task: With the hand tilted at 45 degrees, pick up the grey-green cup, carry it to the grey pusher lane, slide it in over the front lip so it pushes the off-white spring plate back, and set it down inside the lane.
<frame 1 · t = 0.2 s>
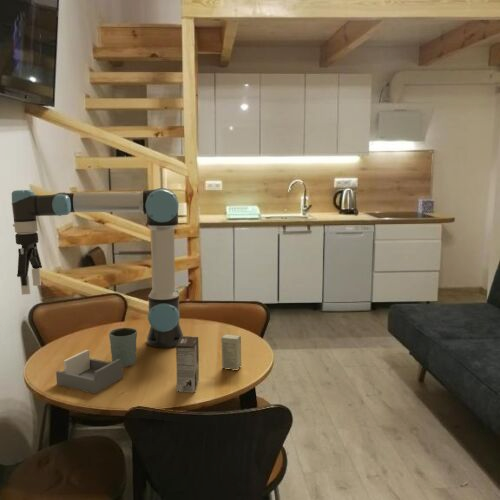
hand: (31, 289, 179), 27 cm above the table, tool pointing down, fingers open, 13 cm apart
skincare box: (231, 368, 178), on the table
pusher: (76, 364, 167), point 5 cm above the table, slide at 0.0 cm
coffee box: (188, 387, 162), on the table
grey-green cup: (124, 362, 182), on the table
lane: (90, 380, 166), on the table
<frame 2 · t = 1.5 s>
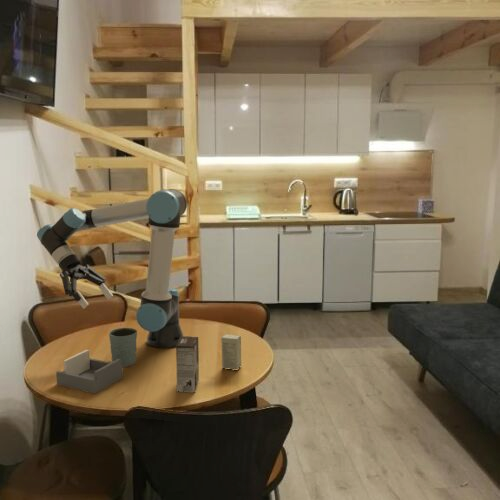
hand: (98, 302, 183), 22 cm above the table, tool tilted 45°, fingers open, 13 cm apart
nothing on the table moved.
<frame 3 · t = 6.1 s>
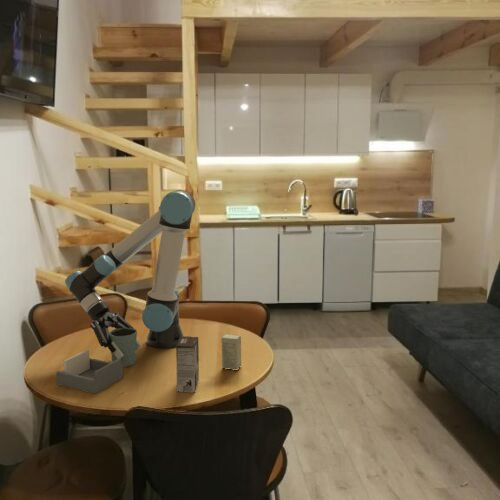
hand: (130, 352, 180), 4 cm above the table, tool tilted 45°, fingers closed on grey-green cup, 10 cm apart
grey-green cup: (124, 362, 182), on the table, touching gripper
everything else where it was.
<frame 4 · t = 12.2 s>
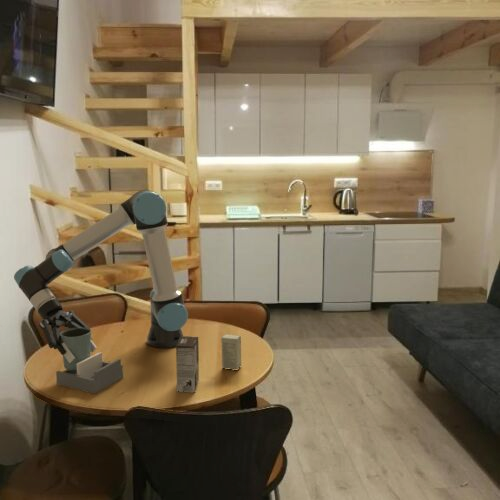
hand: (83, 355, 165), 9 cm above the table, tool tilted 45°, fingers closed on grey-green cup, 10 cm apart
pusher: (89, 367, 165), point 5 cm above the table, slide at 5.7 cm, touching grey-green cup
grey-green cup: (77, 365, 167), point 5 cm above the table, touching gripper, pusher
everything else where it was.
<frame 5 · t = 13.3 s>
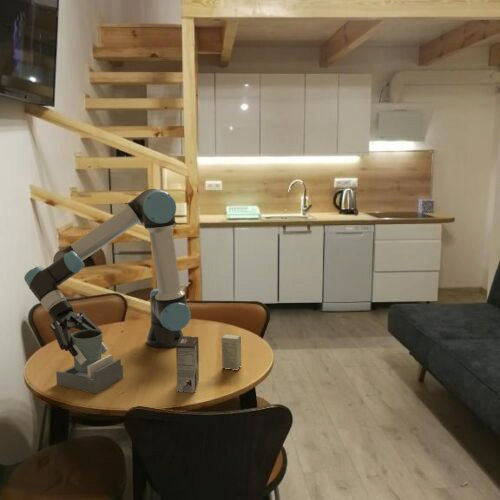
hand: (94, 357, 163), 9 cm above the table, tool tilted 45°, fingers closed on grey-green cup, 10 cm apart
pusher: (100, 369, 163), point 5 cm above the table, slide at 10.4 cm, touching grey-green cup
grey-green cup: (88, 367, 165), point 5 cm above the table, touching gripper, pusher
everything else where it was.
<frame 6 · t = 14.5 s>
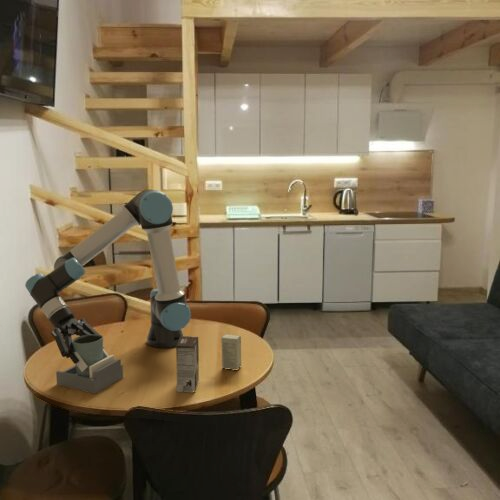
hand: (95, 363, 163), 7 cm above the table, tool tilted 45°, fingers closed on grey-green cup, 10 cm apart
pusher: (102, 370, 163), point 5 cm above the table, slide at 11.2 cm, touching grey-green cup
grey-green cup: (90, 372, 165), point 3 cm above the table, touching gripper, pusher
everything else where it was.
when the fingers open (7 cm above the table, at t = 14.8 s): grey-green cup drops 2 cm, resting on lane, pusher.
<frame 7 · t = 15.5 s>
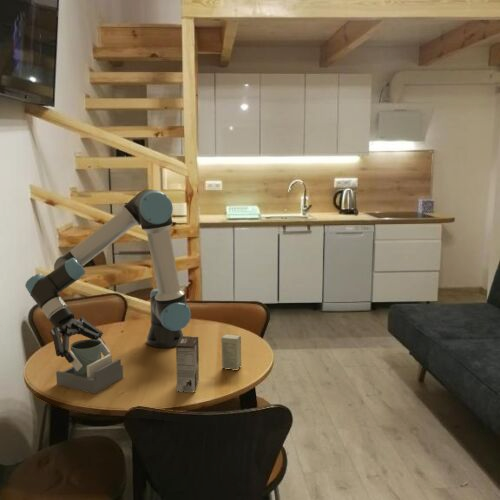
hand: (94, 361, 164), 7 cm above the table, tool tilted 45°, fingers open, 13 cm apart
pusher: (99, 369, 163), point 5 cm above the table, slide at 10.1 cm, touching grey-green cup
grey-green cup: (88, 377, 166), point 1 cm above the table, touching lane, pusher
everything else where it was.
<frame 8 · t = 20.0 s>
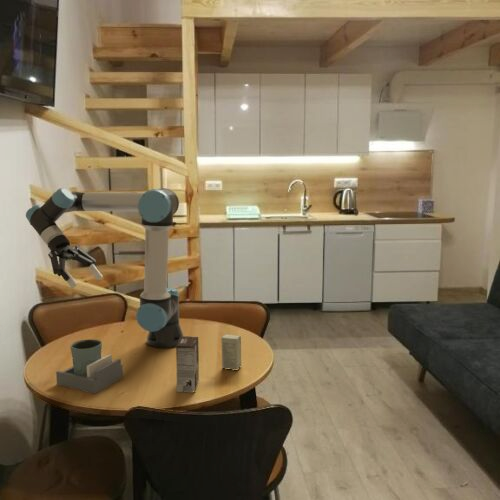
hand: (88, 282, 181), 30 cm above the table, tool tilted 45°, fingers open, 13 cm apart
nothing on the table moved.
at the end: grey-green cup 0.6 cm off-centre on the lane, point 0.9 cm above the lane's base; pusher slide at 10.1 cm; grey-green cup tilted 1° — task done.
